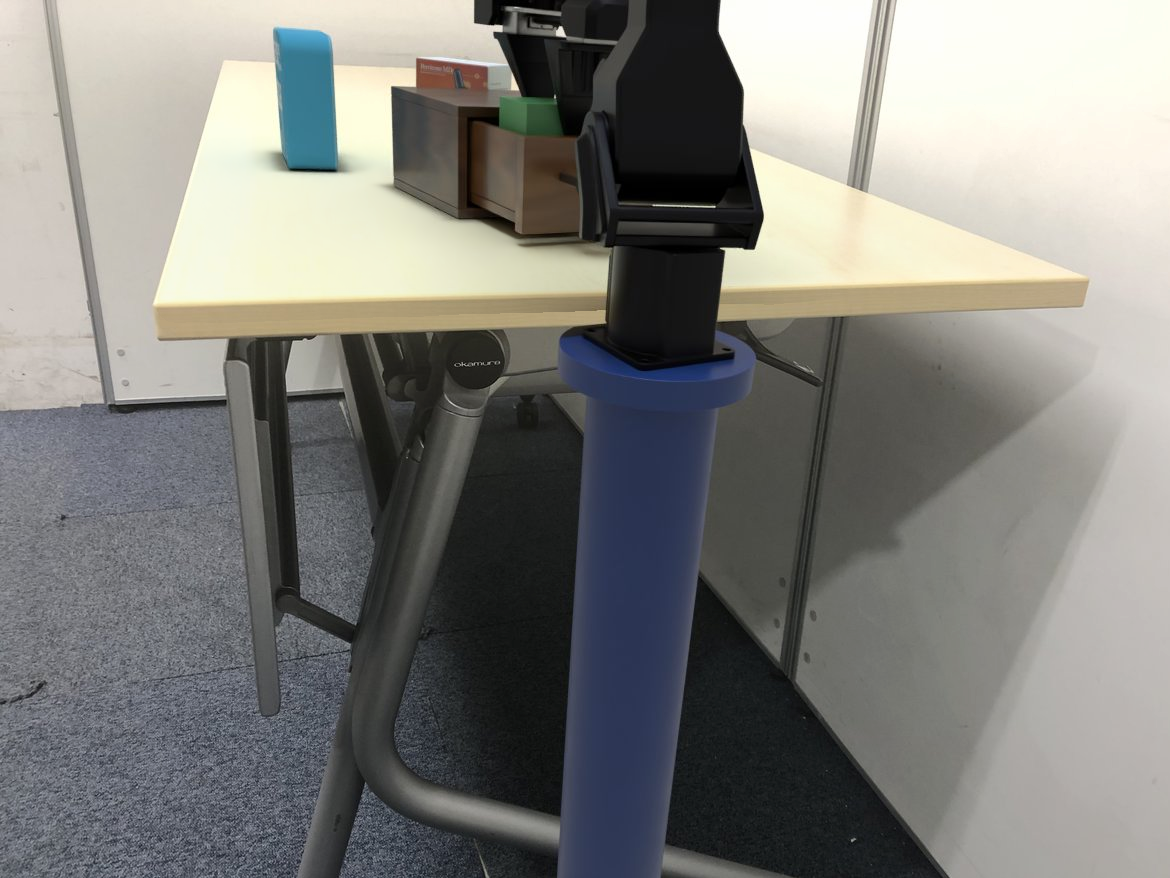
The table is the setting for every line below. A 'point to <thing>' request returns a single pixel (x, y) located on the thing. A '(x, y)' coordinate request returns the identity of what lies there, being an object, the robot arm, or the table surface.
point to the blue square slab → (306, 98)
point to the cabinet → (438, 143)
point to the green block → (530, 115)
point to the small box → (462, 74)
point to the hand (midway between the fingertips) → (556, 136)
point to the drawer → (523, 177)
